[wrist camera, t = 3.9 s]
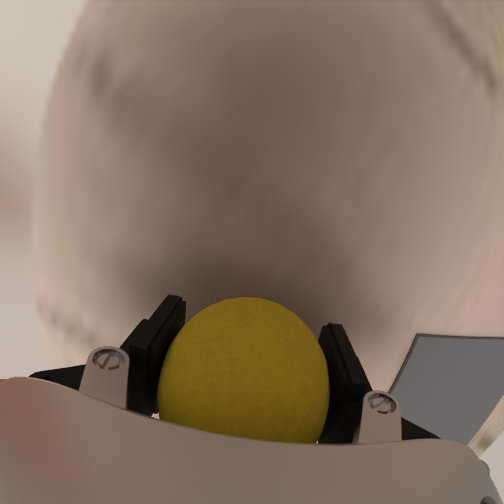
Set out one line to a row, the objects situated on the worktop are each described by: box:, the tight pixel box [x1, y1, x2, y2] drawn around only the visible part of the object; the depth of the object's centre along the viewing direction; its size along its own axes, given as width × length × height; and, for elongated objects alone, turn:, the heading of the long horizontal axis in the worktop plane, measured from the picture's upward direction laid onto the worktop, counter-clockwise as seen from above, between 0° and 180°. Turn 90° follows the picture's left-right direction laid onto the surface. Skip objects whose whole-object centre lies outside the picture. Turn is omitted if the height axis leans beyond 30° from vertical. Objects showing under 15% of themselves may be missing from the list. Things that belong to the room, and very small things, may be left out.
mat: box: [389, 334, 504, 445], centre depth 14 cm, size 14×14×1 cm
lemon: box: [157, 297, 330, 443], centre depth 9 cm, size 6×6×8 cm
